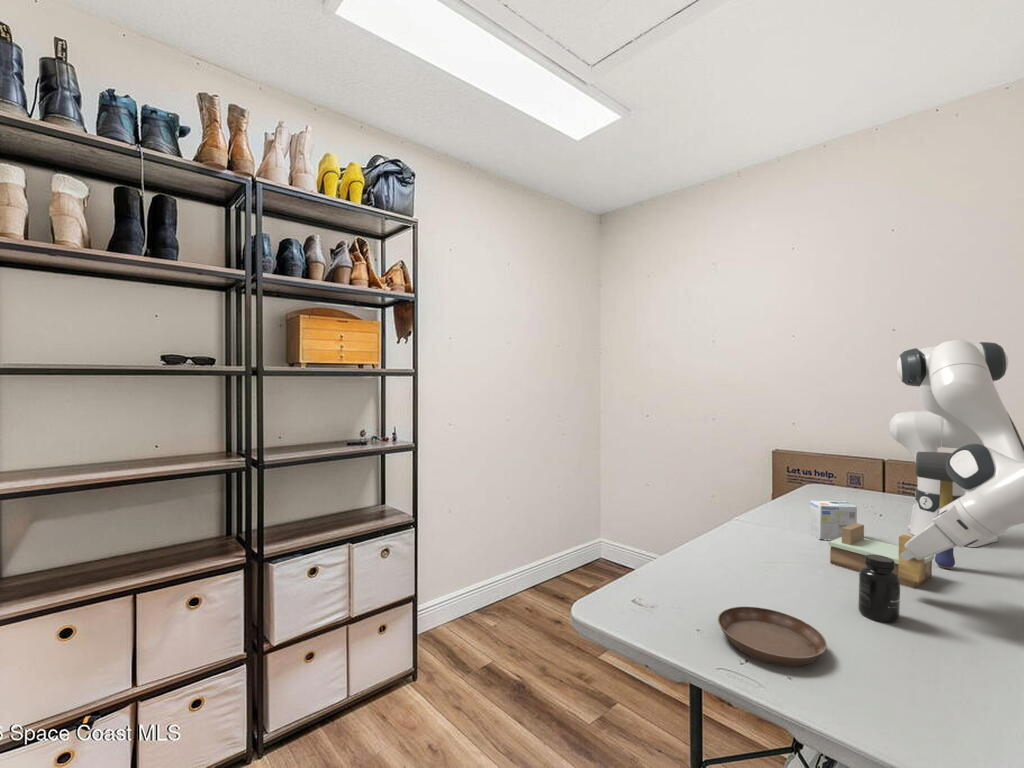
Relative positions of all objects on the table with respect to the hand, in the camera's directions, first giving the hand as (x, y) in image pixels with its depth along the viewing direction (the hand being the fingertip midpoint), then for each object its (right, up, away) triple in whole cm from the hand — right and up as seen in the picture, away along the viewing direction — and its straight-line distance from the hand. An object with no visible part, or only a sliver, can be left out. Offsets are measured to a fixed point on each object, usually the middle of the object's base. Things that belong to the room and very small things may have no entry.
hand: (907, 555), depth 109 cm
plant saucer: (-41, -10, -19) cm, 47 cm away
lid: (+5, -4, +15) cm, 16 cm away
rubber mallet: (+24, -10, +18) cm, 31 cm away
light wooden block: (0, -5, -1) cm, 5 cm away
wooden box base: (+5, -9, +15) cm, 18 cm away
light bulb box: (+10, -9, +41) cm, 43 cm away
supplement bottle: (-13, -10, -9) cm, 18 cm away
